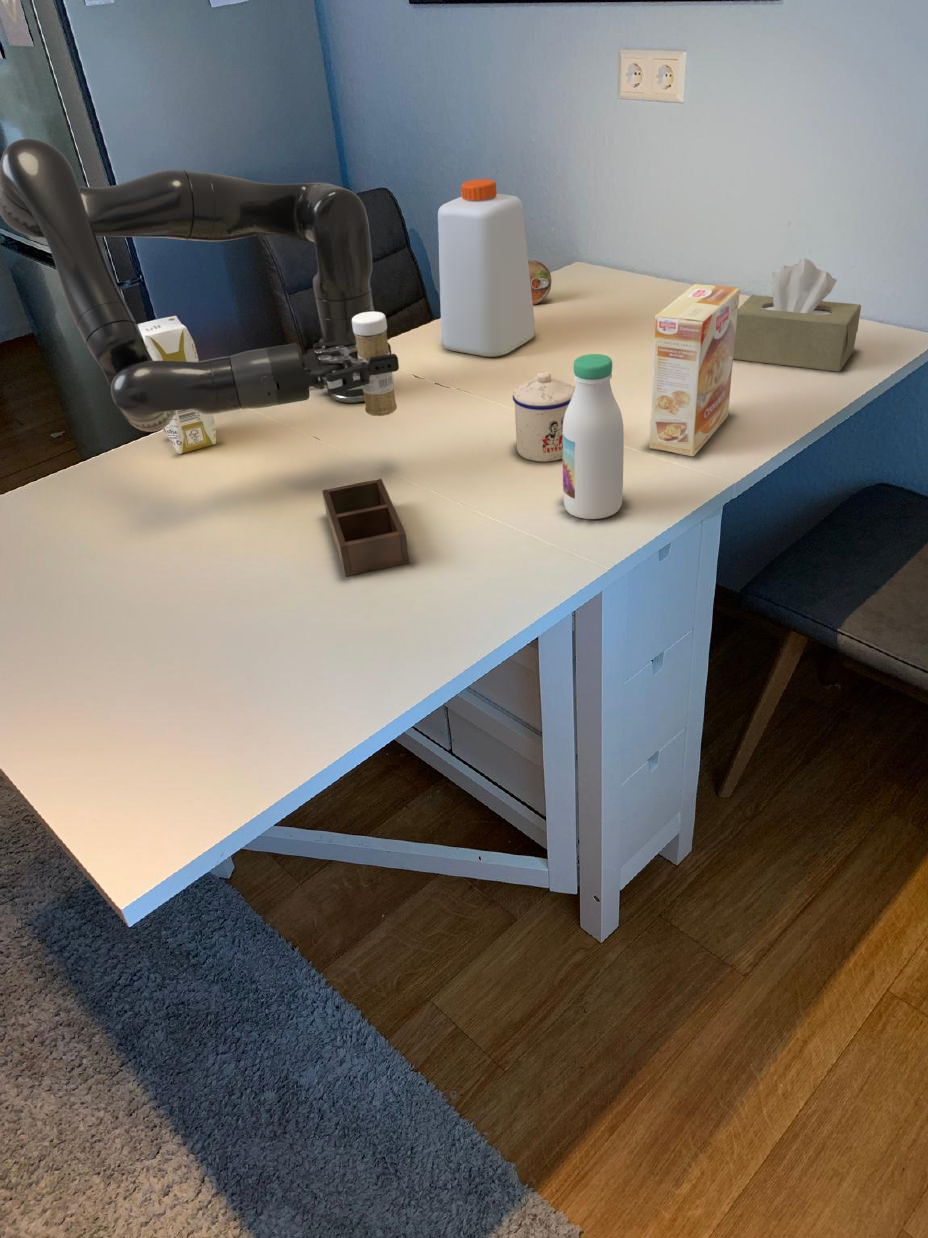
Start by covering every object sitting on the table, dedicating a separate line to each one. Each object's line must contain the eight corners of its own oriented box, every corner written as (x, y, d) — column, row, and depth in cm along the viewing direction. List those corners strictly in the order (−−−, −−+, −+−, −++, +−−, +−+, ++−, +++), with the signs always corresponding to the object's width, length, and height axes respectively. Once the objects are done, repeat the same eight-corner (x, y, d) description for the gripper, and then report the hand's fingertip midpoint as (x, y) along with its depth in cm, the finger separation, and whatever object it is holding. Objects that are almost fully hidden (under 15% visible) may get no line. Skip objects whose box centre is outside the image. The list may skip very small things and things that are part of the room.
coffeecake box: (694, 457, 132) (704, 320, 120) (647, 449, 135) (652, 314, 124) (730, 416, 142) (742, 286, 130) (685, 409, 145) (693, 281, 134)
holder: (345, 576, 114) (339, 546, 111) (327, 518, 126) (321, 489, 124) (409, 562, 115) (405, 533, 113) (385, 506, 128) (381, 478, 125)
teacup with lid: (548, 469, 132) (546, 391, 126) (502, 452, 138) (498, 376, 131) (602, 439, 139) (602, 363, 132) (556, 424, 144) (554, 351, 138)
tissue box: (855, 351, 158) (871, 255, 149) (841, 372, 152) (857, 273, 142) (745, 339, 167) (754, 247, 157) (727, 358, 160) (736, 264, 151)
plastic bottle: (479, 324, 185) (468, 170, 168) (544, 334, 177) (539, 174, 161) (433, 349, 175) (416, 189, 159) (499, 361, 167) (489, 194, 151)
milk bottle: (629, 496, 124) (633, 350, 113) (612, 524, 119) (614, 374, 107) (574, 488, 127) (573, 345, 116) (555, 516, 122) (551, 368, 110)
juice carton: (175, 457, 146) (141, 338, 134) (163, 438, 152) (129, 323, 141) (222, 445, 148) (192, 326, 137) (208, 426, 154) (179, 312, 143)
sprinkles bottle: (390, 401, 134) (378, 307, 126) (402, 412, 130) (390, 316, 123) (360, 409, 132) (346, 314, 125) (371, 420, 129) (358, 323, 121)
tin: (479, 306, 194) (476, 264, 189) (481, 301, 196) (478, 260, 191) (551, 304, 191) (550, 262, 186) (552, 299, 194) (551, 257, 189)
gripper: (270, 384, 132) (387, 364, 135) (280, 423, 121) (408, 400, 124) (259, 332, 128) (380, 313, 131) (268, 367, 117) (401, 345, 120)
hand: (393, 355), depth 127 cm, fingers closed on sprinkles bottle, 4 cm apart
